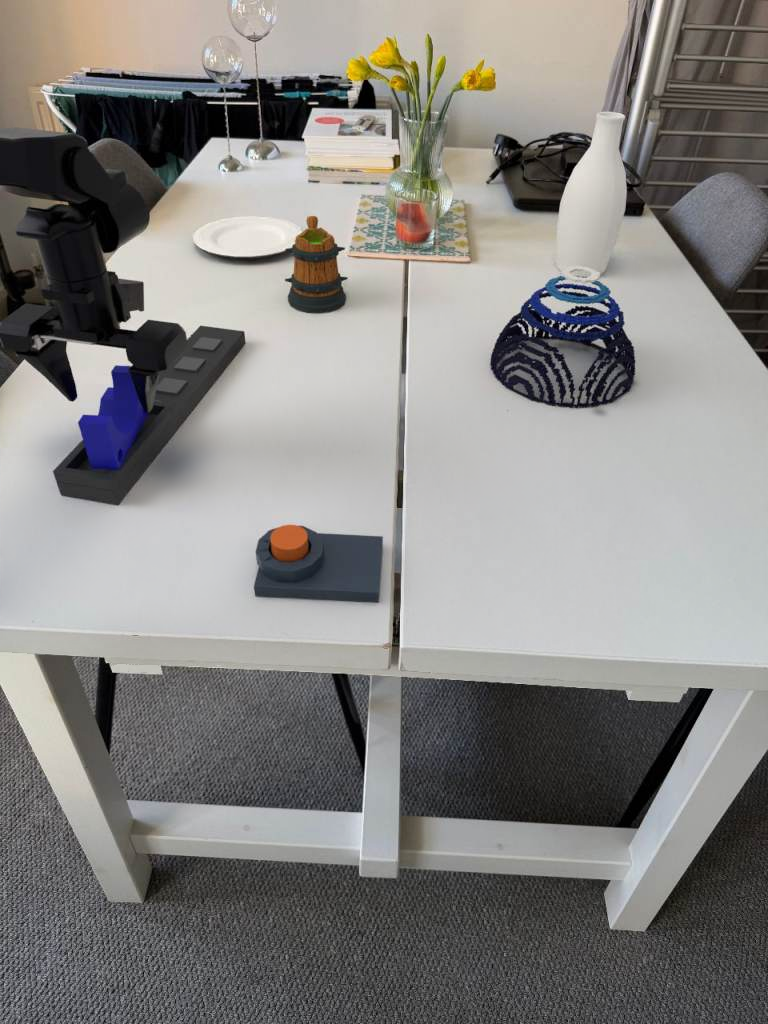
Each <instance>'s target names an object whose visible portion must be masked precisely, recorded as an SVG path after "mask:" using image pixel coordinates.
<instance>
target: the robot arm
mask: <svg viewBox="0 0 768 1024" xmlns="http://www.w3.org/2000/svg"><path fill="white" fill-rule="evenodd" d="M88 145H89V143H88V141H87V139H85V137H83V136H82V135H79V134H77V133H74V132H73V133H71V132H63V131H54V130H53V131H52V130H44V129H35V128H27V127H9V128H0V191H2V192H7V193H9V194H13V195H16V196H19V197H24V198H31V199H39V200H47V201H54V202H60V203H54V204H52V205H49V206H47V207H46V208H40V207H33V206H27V207H26V209H25V214H24V216H23V217H22V219H21V220H20V221H19V222H18V224H17V227H16V229H15V234H16V236H17V237H19V238H23V239H24V238H25V239H32V240H35V243H36V246H37V249H38V252H39V256H40V259H41V262H42V266H43V270H44V273H45V277H46V280H47V283H48V284H46V285H44V286H43V287H42V288H41V289H40V291H41V294H42V298H43V300H47V301H48V300H50V301H53V304H54V306H48V305H40V304H33V303H24V304H23V305H21V306H20V307H18V308H17V309H16V310H14V311H13V312H12V313H10V314H9V315H7V316H6V317H4V318H3V319H2V320H1V321H0V343H1V346H2V348H3V350H7V351H13V352H14V354H15V357H17V358H21V359H23V360H25V361H26V362H27V363H28V364H29V365H30V366H31V367H32V368H34V369H35V370H36V371H37V372H38V373H40V374H41V375H42V376H43V377H44V378H45V379H46V380H47V381H48V382H49V383H50V384H51V385H52V386H54V388H55V389H57V391H59V392H60V394H61V395H63V397H64V398H66V399H67V400H68V402H72V403H74V401H76V400H77V399H78V391H77V385H76V381H75V378H74V373H73V370H72V367H71V363H70V359H69V357H68V356H69V355H68V353H67V346H68V343H74V344H82V345H89V346H102V347H109V348H117V349H123V350H125V354H126V359H127V361H128V362H129V363H130V364H131V365H130V366H131V367H130V368H129V369H128V371H129V374H130V377H131V380H132V382H133V385H134V388H135V390H136V393H137V396H138V399H139V401H140V404H141V406H142V408H143V410H144V411H145V413H149V412H150V411H151V410H152V408H153V403H154V398H155V393H156V388H157V382H158V378H159V374H160V371H163V370H167V369H168V368H169V367H170V366H171V365H172V364H173V362H174V361H175V360H176V359H177V358H178V357H179V356H180V355H181V354H182V352H183V351H184V350H185V349H186V348H187V347H188V343H187V339H188V337H187V332H186V331H185V329H184V327H183V326H182V325H180V323H178V322H177V323H176V322H170V321H161V320H155V319H146V321H145V322H144V323H143V324H142V325H141V326H139V328H137V329H136V330H132V329H131V330H130V329H125V328H121V323H127V322H128V321H129V320H131V318H132V316H131V312H135V311H139V312H144V311H145V283H144V281H141V280H133V279H126V278H119V276H118V274H116V271H110V270H108V268H107V263H106V259H105V255H104V254H110V253H113V252H115V251H117V250H118V249H120V248H121V247H122V246H124V245H126V244H128V243H129V242H131V241H132V240H133V239H134V238H137V237H138V236H139V235H141V234H142V233H144V232H145V230H147V228H148V227H149V224H150V219H151V216H150V215H151V214H150V208H149V204H147V202H146V201H145V199H144V197H143V196H142V194H141V193H140V192H139V191H138V189H136V188H135V187H134V186H133V185H132V184H130V183H129V182H127V177H126V172H125V171H124V170H117V169H109V168H106V169H105V168H104V167H103V166H102V164H101V163H100V162H99V160H98V159H97V158H96V156H95V155H94V154H93V152H91V151H90V149H89V147H88ZM61 202H63V203H61ZM65 203H67V204H65Z"/></svg>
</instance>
